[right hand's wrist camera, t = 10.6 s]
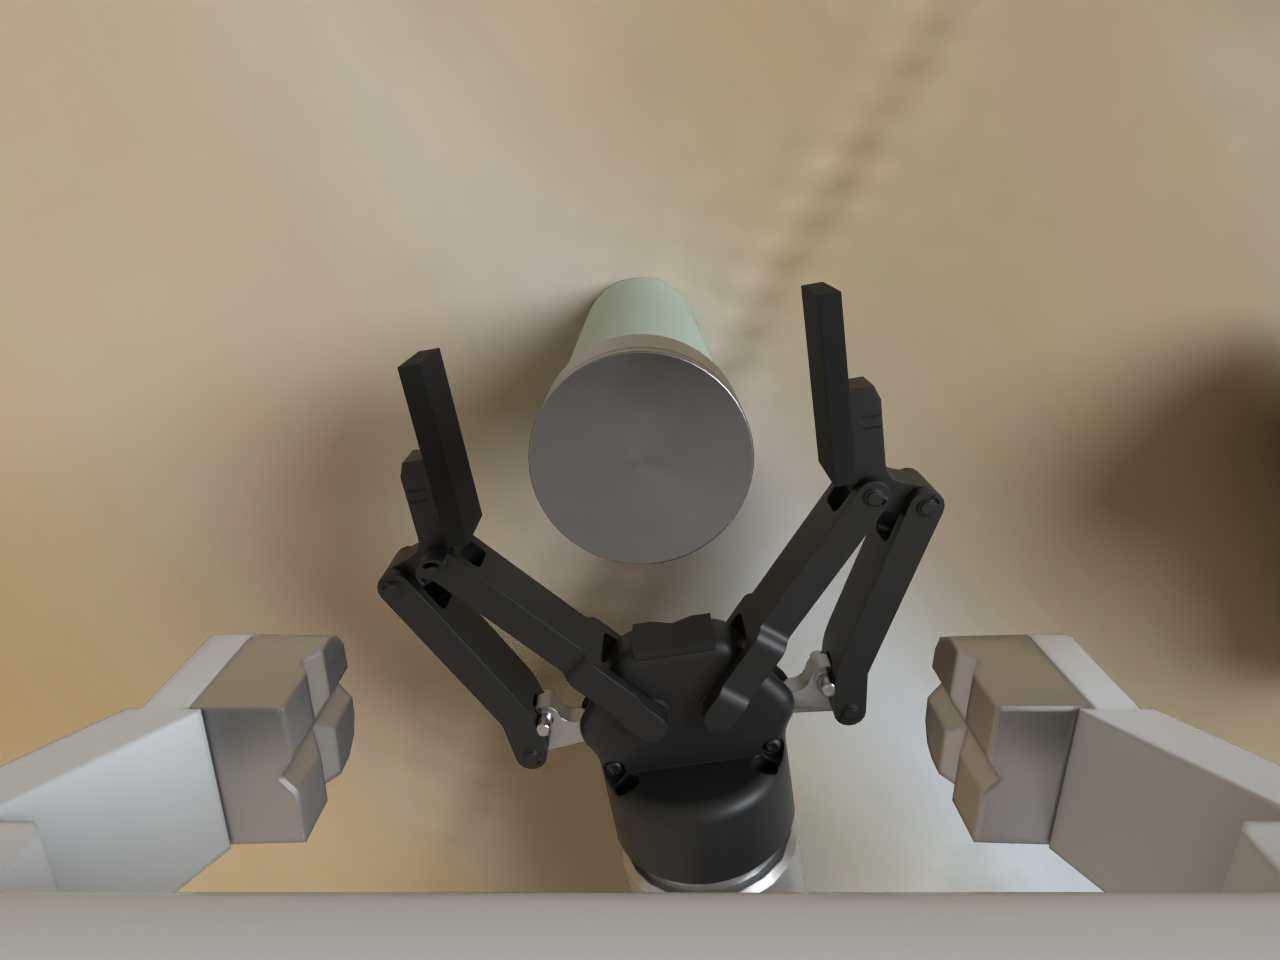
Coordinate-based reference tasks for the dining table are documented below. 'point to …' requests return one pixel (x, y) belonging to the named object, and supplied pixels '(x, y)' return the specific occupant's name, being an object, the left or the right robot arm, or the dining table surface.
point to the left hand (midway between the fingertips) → (616, 321)
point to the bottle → (640, 315)
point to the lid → (641, 450)
